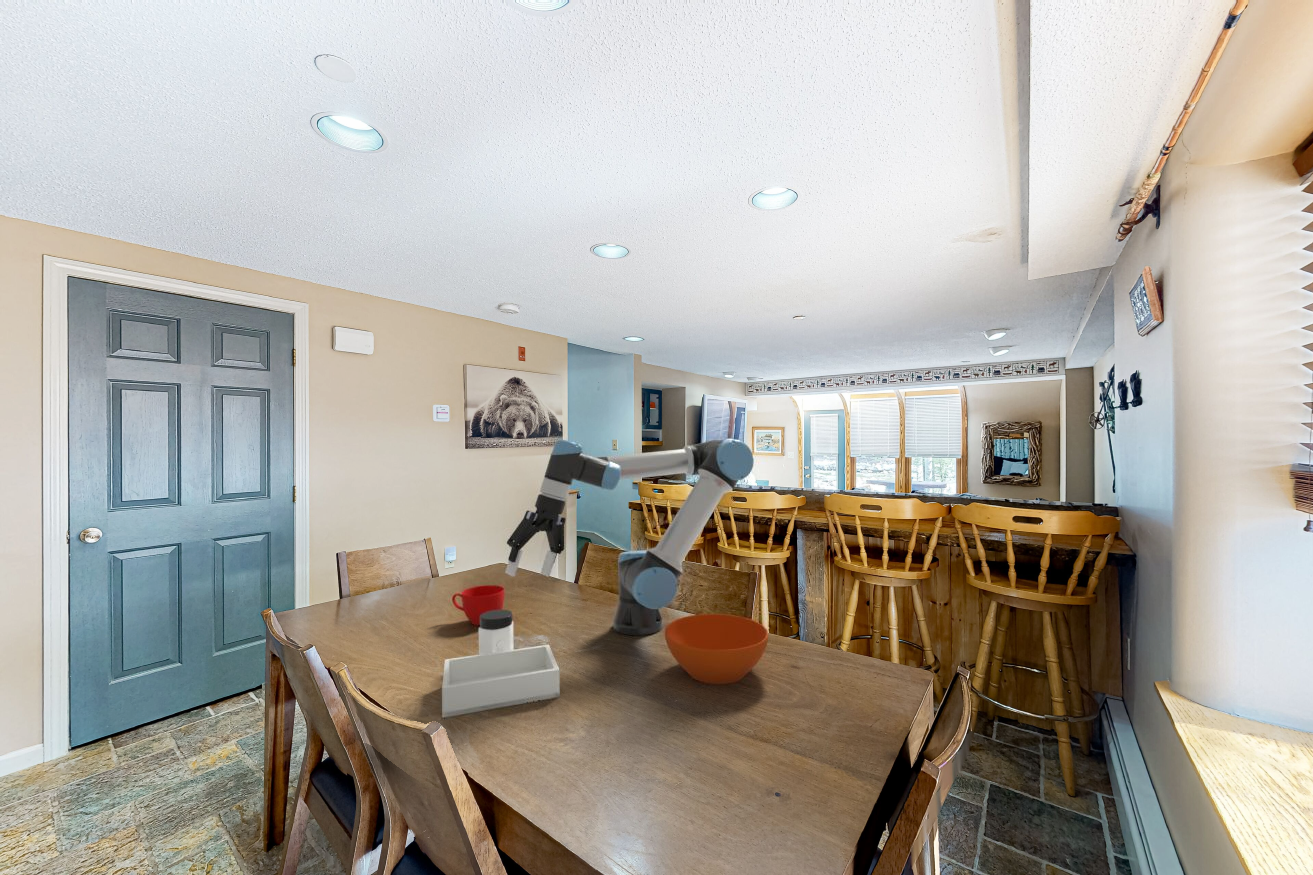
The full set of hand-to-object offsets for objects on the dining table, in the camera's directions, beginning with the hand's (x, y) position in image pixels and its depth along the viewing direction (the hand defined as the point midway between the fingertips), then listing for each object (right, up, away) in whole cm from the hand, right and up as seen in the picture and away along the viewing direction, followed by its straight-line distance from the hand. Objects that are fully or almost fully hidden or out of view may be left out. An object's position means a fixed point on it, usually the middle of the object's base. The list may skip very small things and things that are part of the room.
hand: (527, 575), depth 136 cm
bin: (-2, -21, -18) cm, 28 cm away
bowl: (+48, -21, -9) cm, 54 cm away
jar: (-8, -22, -1) cm, 23 cm away
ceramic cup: (-23, -23, +29) cm, 44 cm away
